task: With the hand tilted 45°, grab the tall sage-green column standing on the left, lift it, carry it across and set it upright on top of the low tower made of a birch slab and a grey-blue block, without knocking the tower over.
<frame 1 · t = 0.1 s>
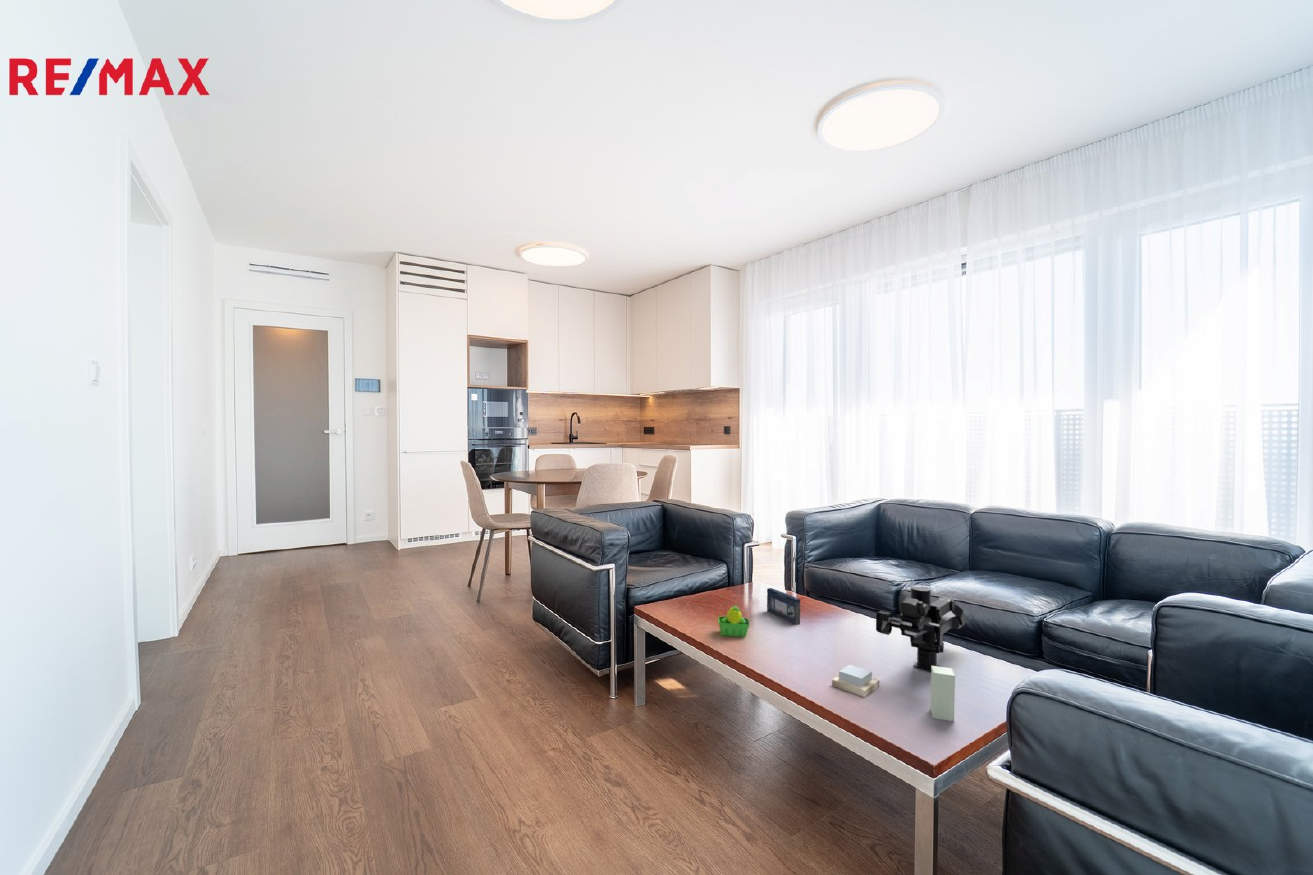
hand: (897, 635, 161), 17 cm above the table, tool horizontal, fingers open, 9 cm apart
vhs cassette tape: (782, 618, 227), on the table
tower top: (855, 679, 165), point 2 cm above the table, touching tower base
column: (942, 715, 148), on the table
tower base: (855, 688, 165), on the table, touching tower top
fruit basket: (733, 635, 207), on the table
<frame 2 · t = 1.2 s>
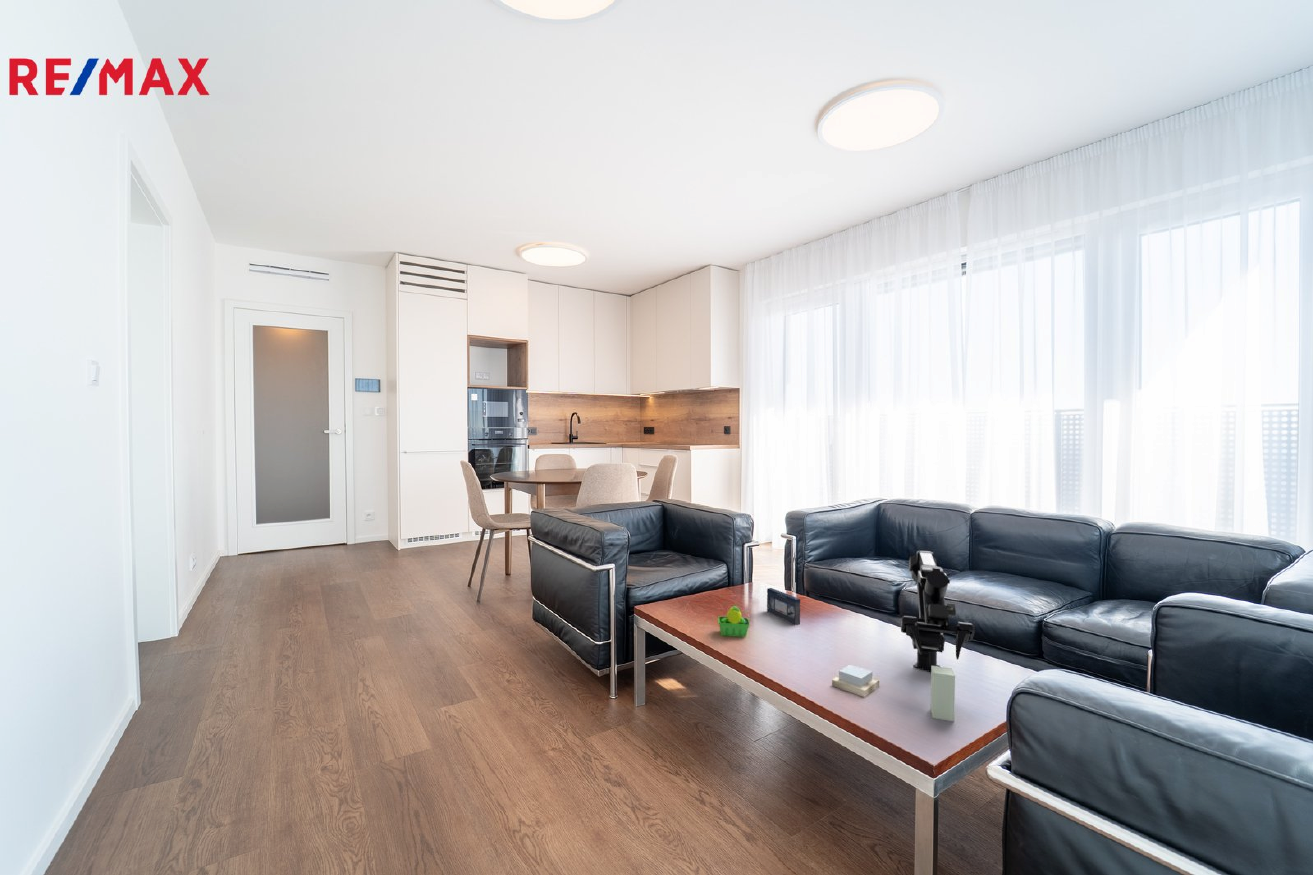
hand: (939, 656, 155), 13 cm above the table, tool tilted 45°, fingers open, 9 cm apart
nothing on the table moved.
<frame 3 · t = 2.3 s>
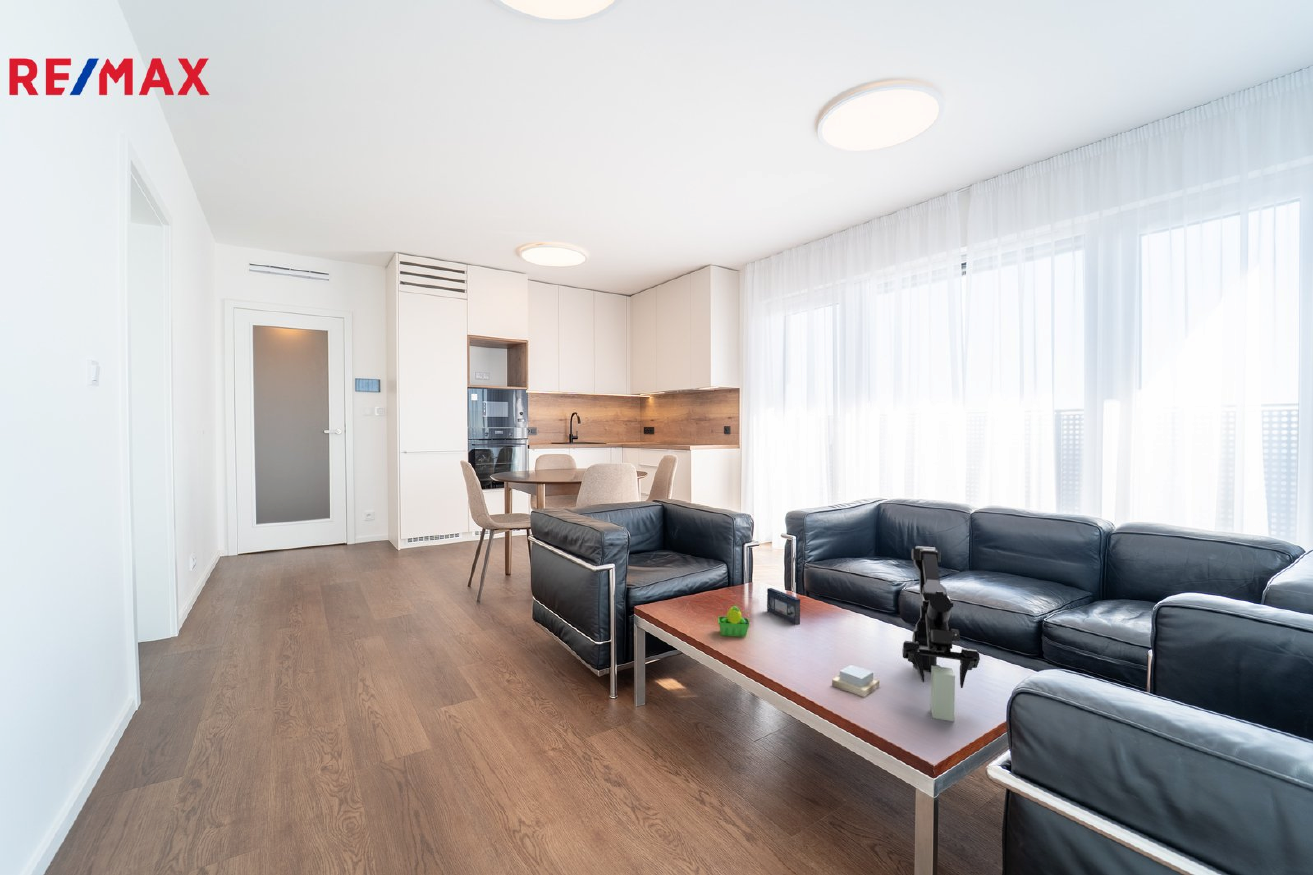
hand: (942, 684, 149), 8 cm above the table, tool tilted 45°, fingers open, 9 cm apart
nothing on the table moved.
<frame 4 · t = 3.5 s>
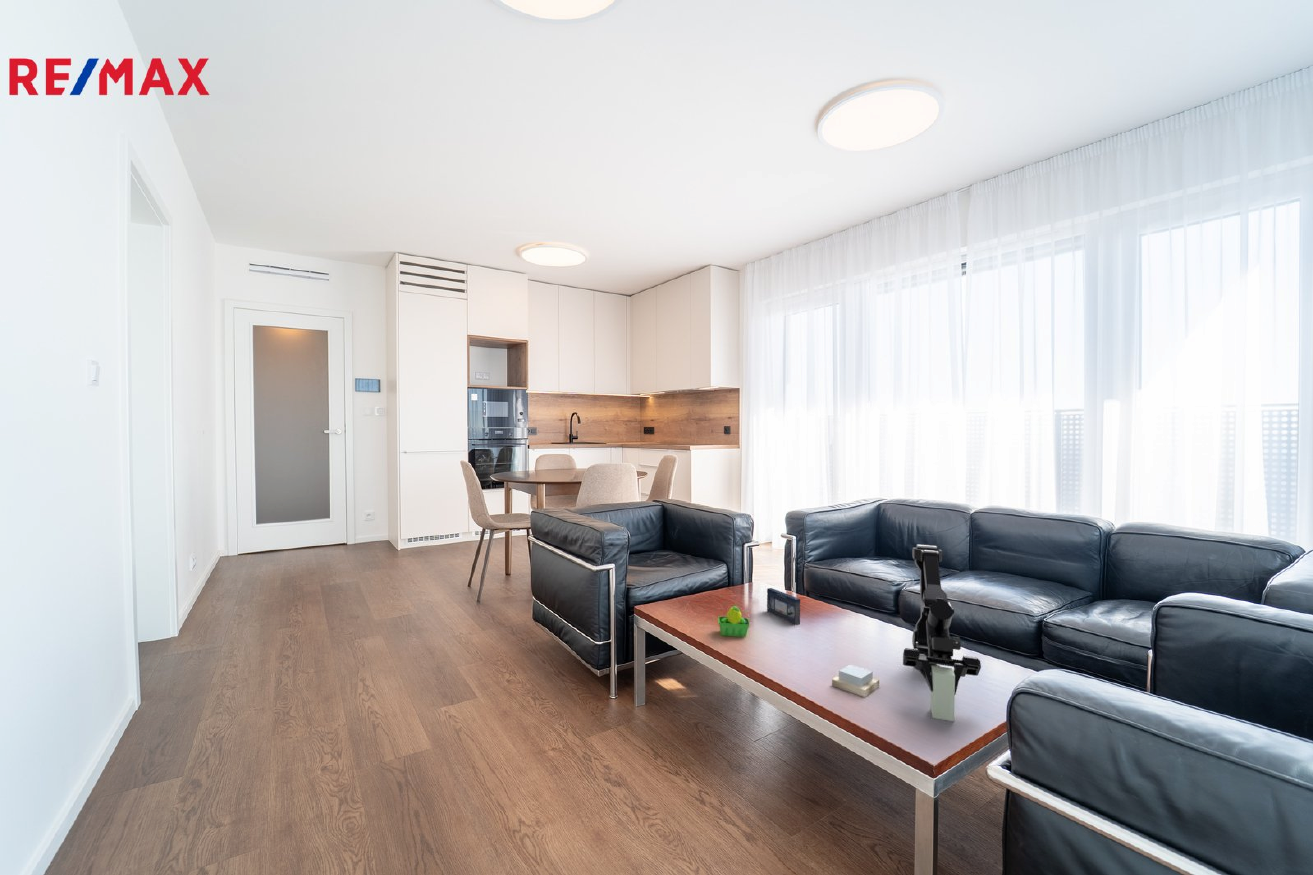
hand: (943, 692, 147), 7 cm above the table, tool tilted 45°, fingers closed on column, 5 cm apart
column: (942, 715, 148), on the table, touching gripper
everything else where it was.
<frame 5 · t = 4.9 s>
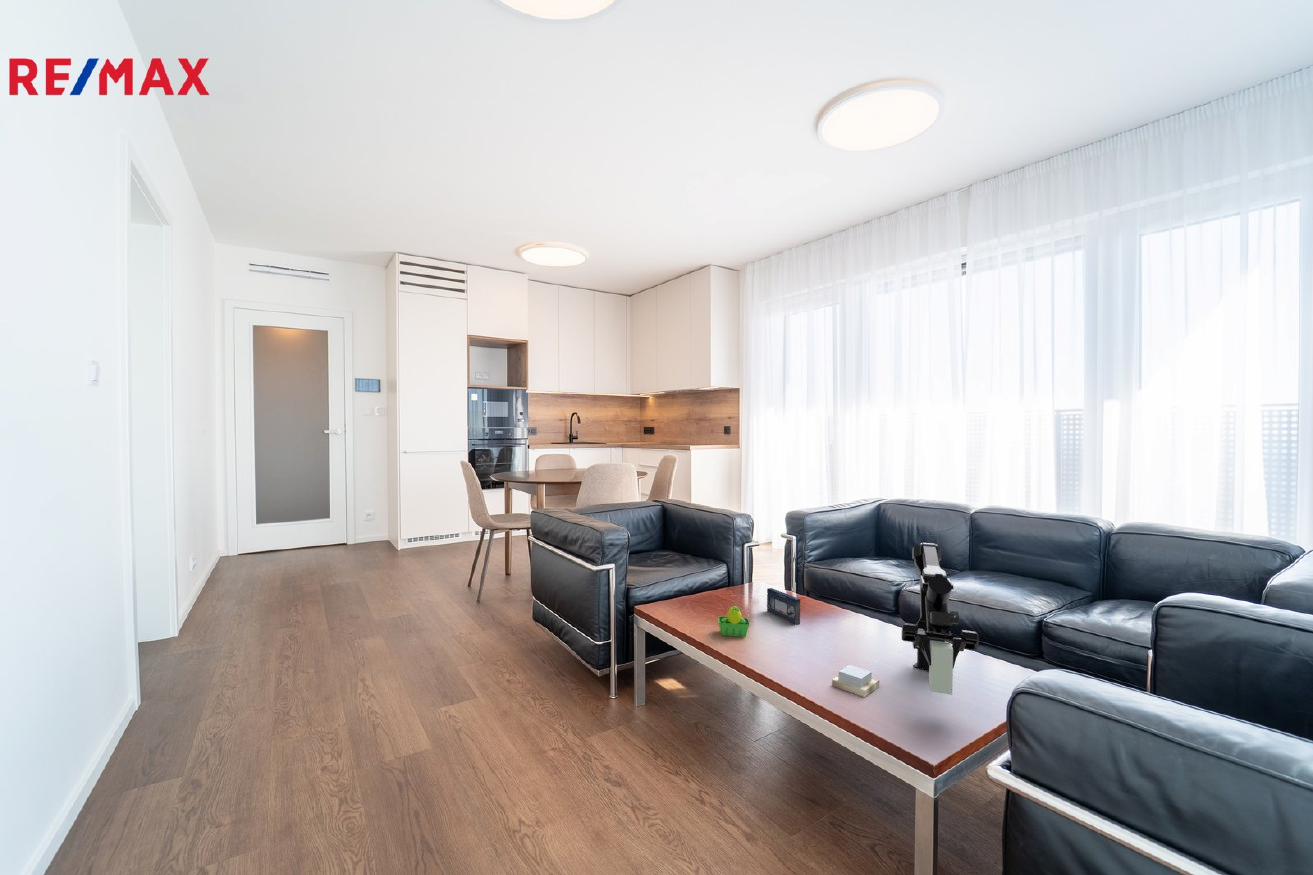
hand: (941, 666, 147), 13 cm above the table, tool tilted 45°, fingers closed on column, 5 cm apart
column: (940, 689, 149), point 7 cm above the table, touching gripper
everything else where it was.
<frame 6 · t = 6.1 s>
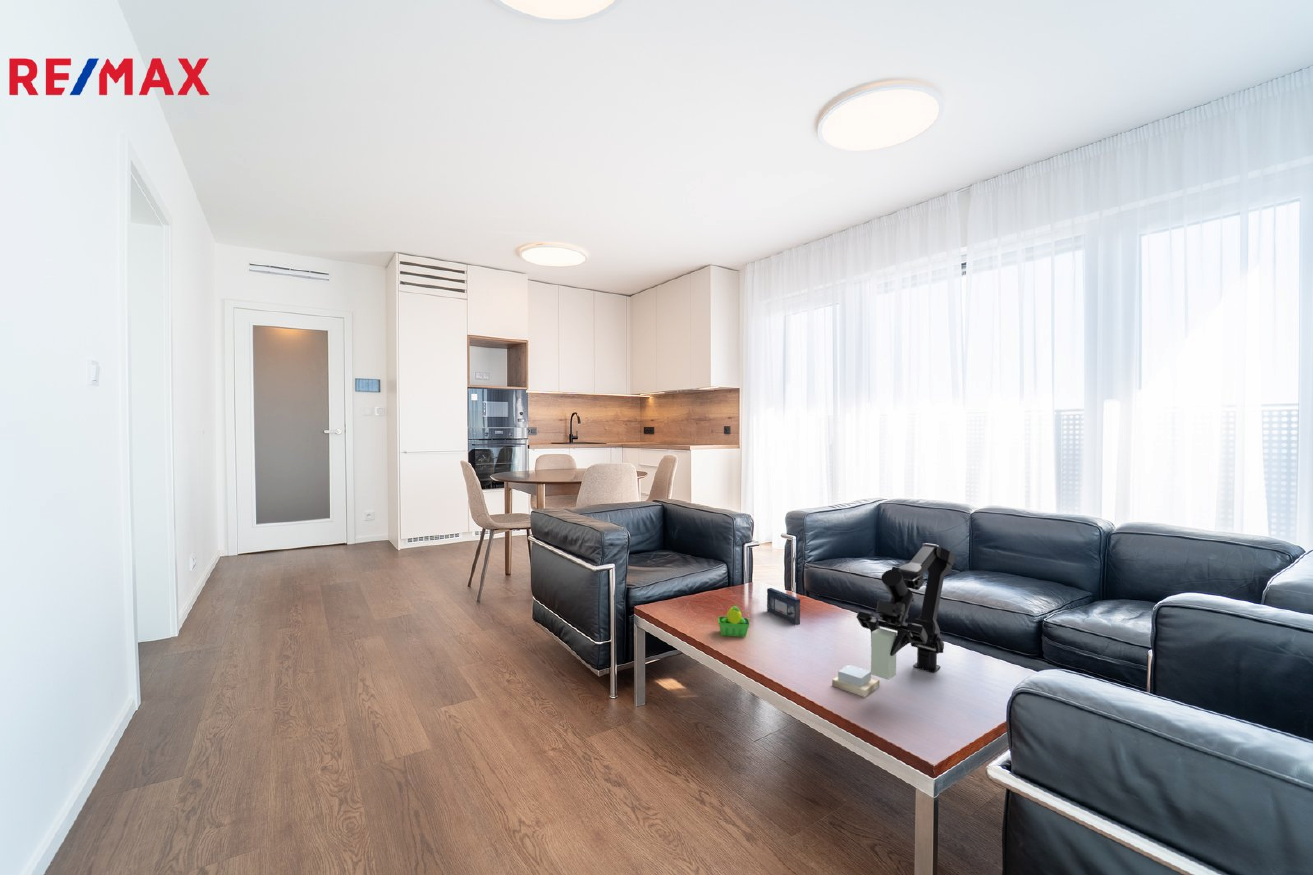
hand: (881, 652, 156), 13 cm above the table, tool tilted 45°, fingers closed on column, 5 cm apart
column: (883, 674, 157), point 7 cm above the table, touching gripper
everything else where it was.
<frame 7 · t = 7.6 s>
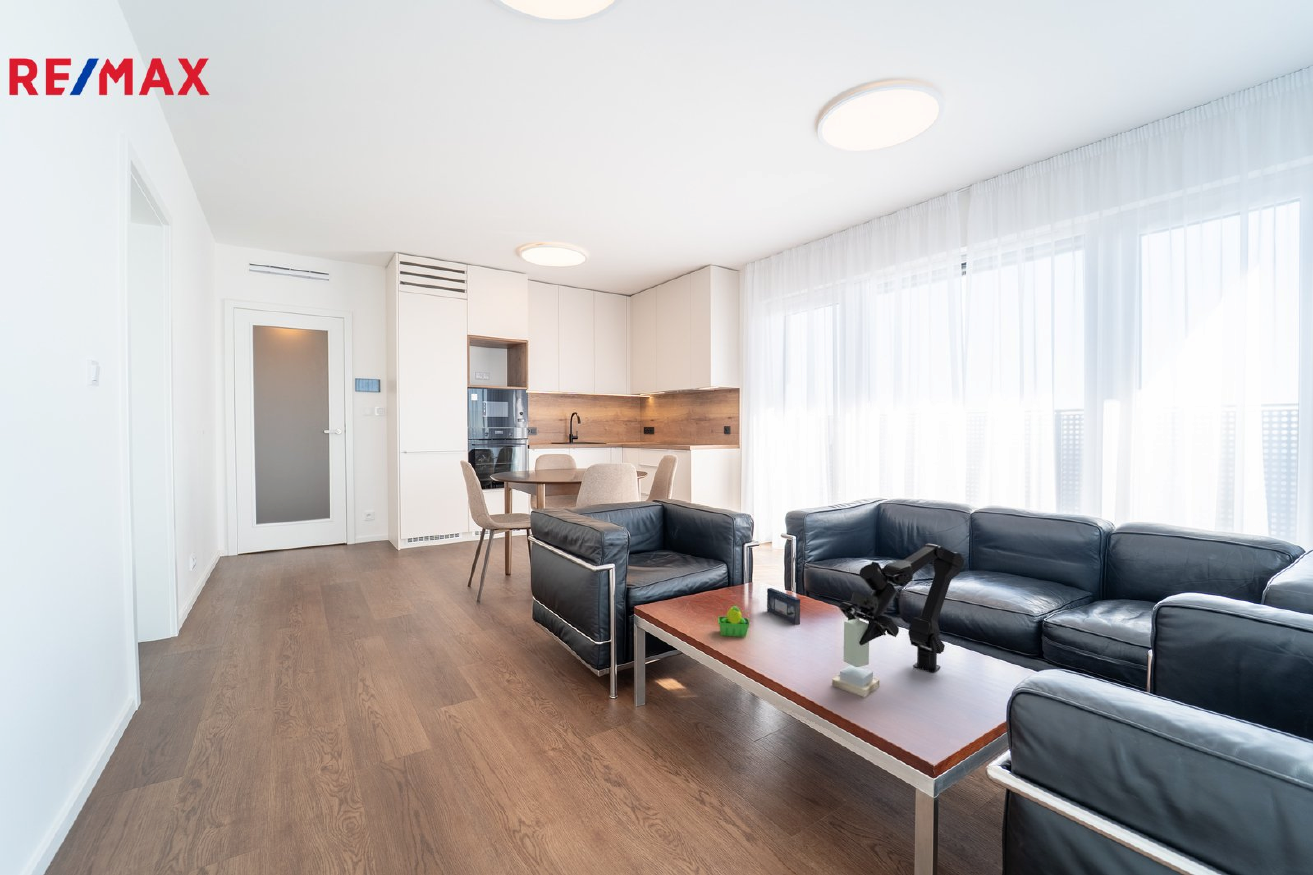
hand: (853, 641, 165), 13 cm above the table, tool tilted 45°, fingers closed on column, 5 cm apart
column: (856, 662, 165), point 7 cm above the table, touching gripper
everything else where it was.
when the fingers open (13 cm above the table, at t = 8.4 s): column drops 2 cm, resting on tower top.
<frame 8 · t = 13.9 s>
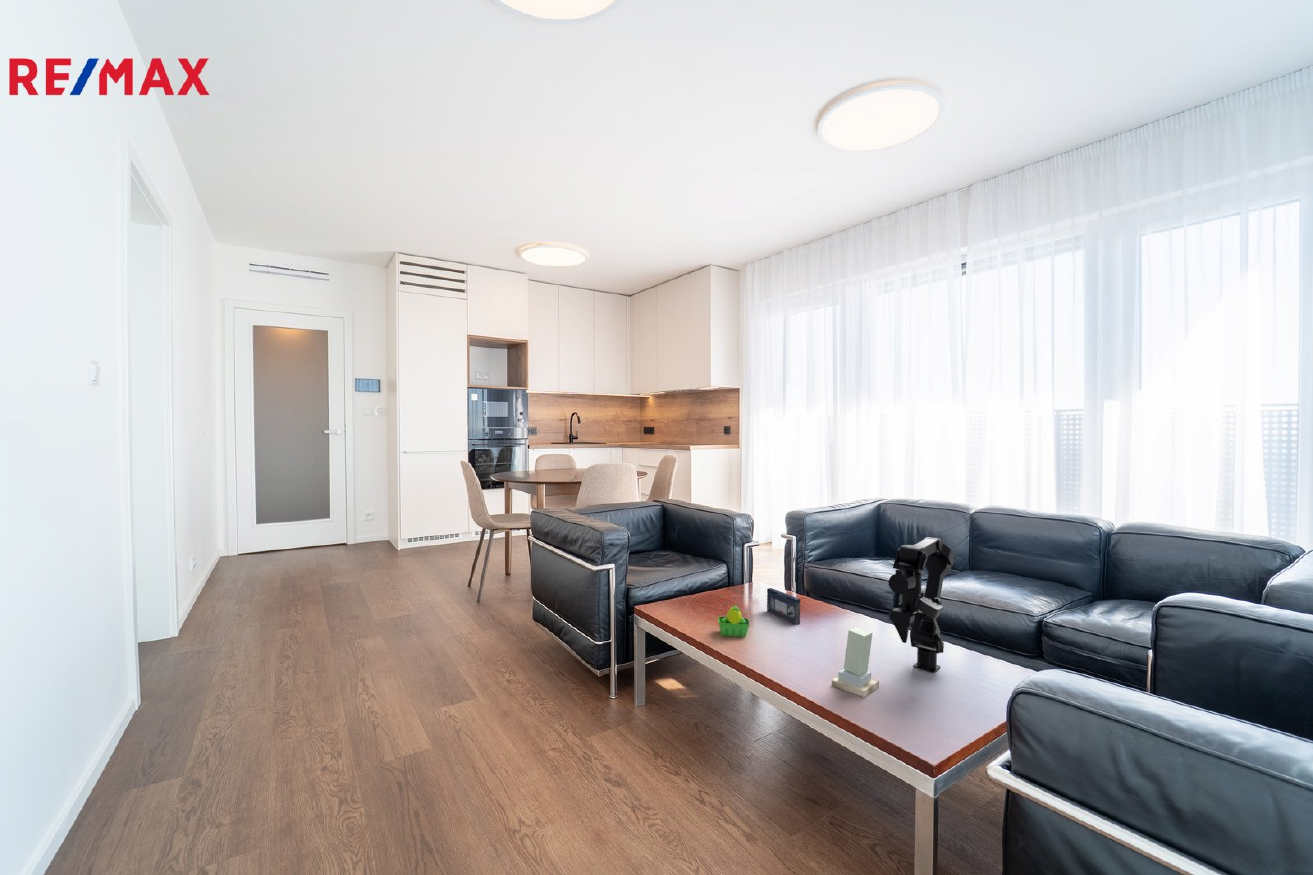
hand: (910, 638, 169), 13 cm above the table, tool pointing down, fingers open, 9 cm apart
tower top: (854, 680, 165), point 2 cm above the table, touching column, tower base
column: (855, 670, 166), point 4 cm above the table, tilted 6°, touching tower top
everything else where it was.
at the end: column 0.5 cm off-centre on the tower base, point 5.2 cm above the tower base's base; column tilted 5°; tower top 0.4 cm off-centre on the tower base, point 2.5 cm above the tower base's base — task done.
